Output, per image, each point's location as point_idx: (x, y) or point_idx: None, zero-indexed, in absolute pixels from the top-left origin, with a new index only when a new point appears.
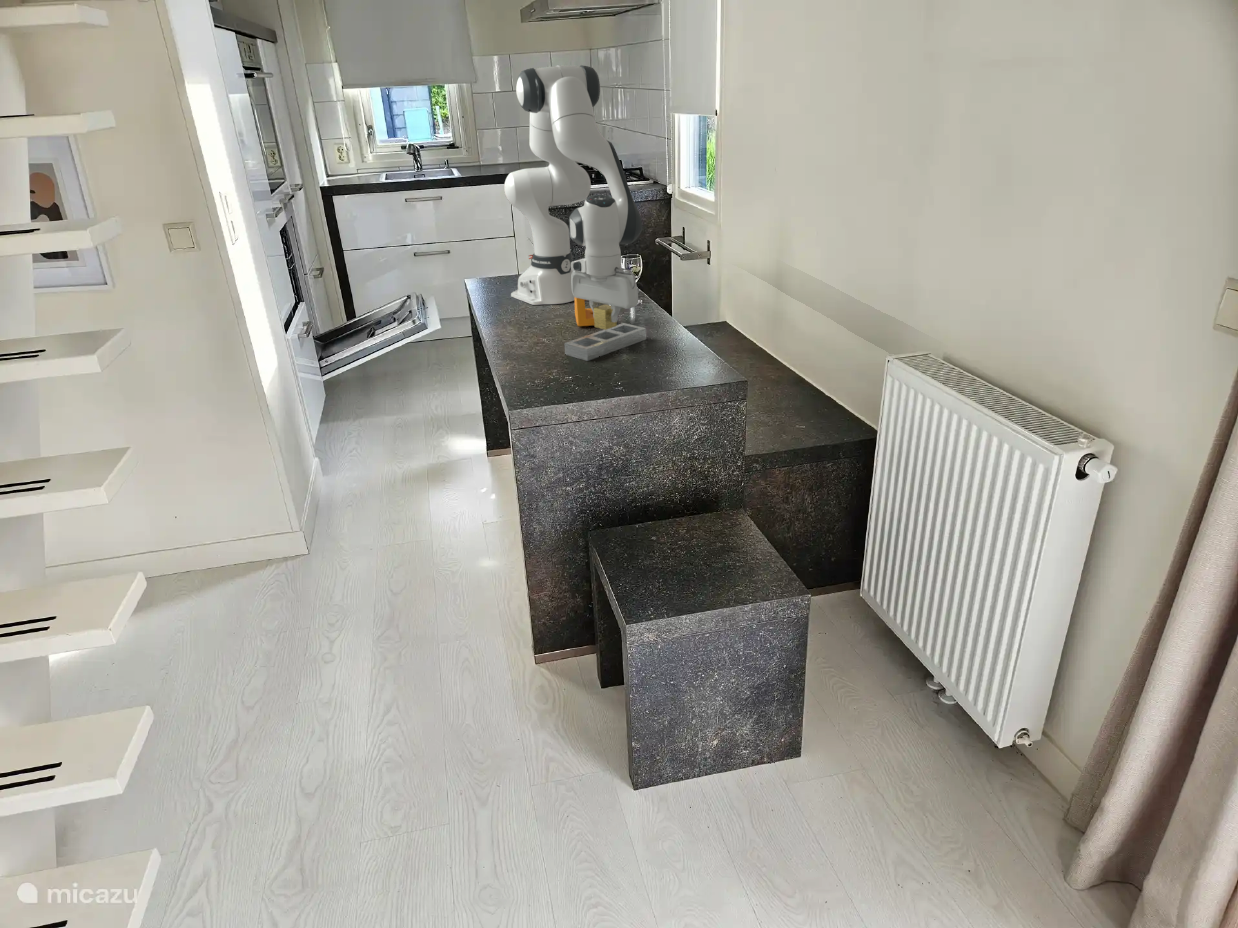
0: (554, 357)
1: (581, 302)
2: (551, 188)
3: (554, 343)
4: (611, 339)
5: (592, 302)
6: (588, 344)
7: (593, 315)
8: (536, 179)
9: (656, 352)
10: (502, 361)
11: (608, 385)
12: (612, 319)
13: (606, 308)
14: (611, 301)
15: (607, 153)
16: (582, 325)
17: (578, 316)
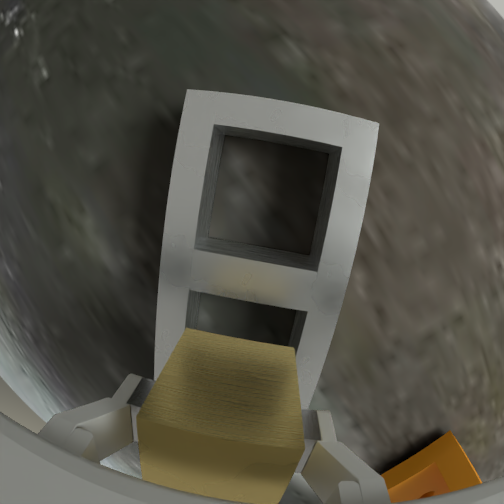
0: (377, 83)
1: None
2: None
3: (476, 256)
4: (169, 306)
5: (349, 500)
6: (303, 260)
7: (331, 420)
8: None
9: (52, 334)
10: (485, 7)
11: (36, 3)
12: (125, 383)
13: (171, 462)
14: (15, 457)
15: None
16: (439, 439)
17: (462, 454)
